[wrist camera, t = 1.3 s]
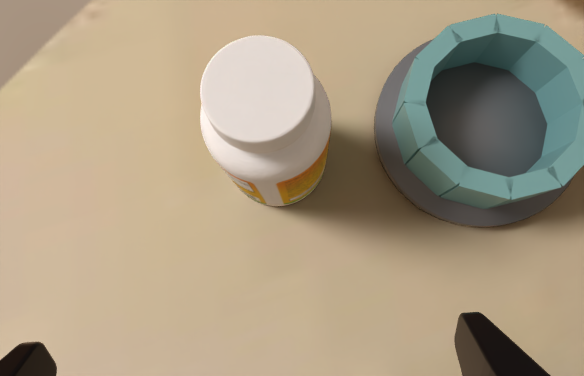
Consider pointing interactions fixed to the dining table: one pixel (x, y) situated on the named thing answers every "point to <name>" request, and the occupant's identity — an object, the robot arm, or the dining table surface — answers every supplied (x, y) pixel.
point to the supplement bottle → (266, 119)
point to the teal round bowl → (484, 121)
